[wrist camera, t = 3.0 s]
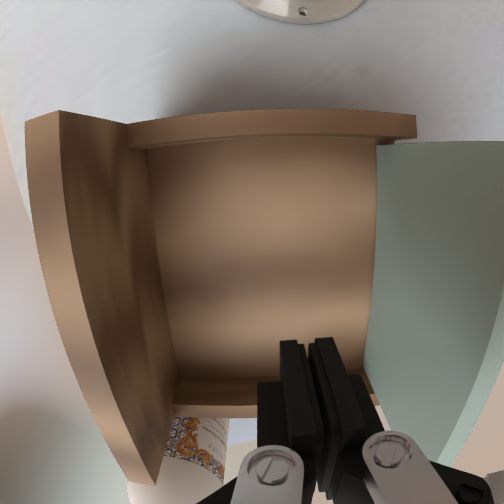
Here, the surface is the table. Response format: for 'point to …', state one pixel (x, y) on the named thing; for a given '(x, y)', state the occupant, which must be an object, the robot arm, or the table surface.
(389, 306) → the panel
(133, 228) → the tray
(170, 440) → the bath foam
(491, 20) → the table surface
